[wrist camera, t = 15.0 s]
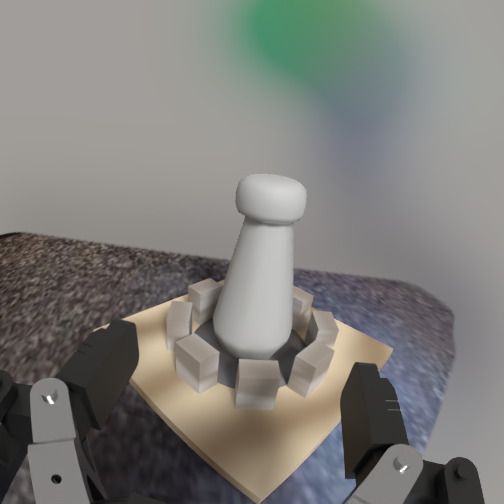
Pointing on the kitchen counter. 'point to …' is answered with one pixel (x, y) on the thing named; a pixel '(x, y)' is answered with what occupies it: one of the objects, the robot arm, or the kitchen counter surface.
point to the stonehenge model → (247, 386)
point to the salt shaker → (260, 269)
